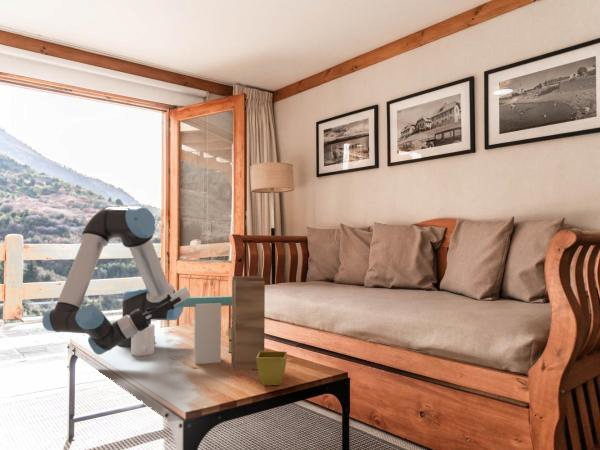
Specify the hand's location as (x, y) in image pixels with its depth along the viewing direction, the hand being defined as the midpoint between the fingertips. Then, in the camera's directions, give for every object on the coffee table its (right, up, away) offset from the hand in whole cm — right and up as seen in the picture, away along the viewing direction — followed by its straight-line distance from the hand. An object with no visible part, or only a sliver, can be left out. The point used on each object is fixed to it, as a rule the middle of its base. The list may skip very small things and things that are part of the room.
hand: (188, 291), depth 171 cm
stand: (+22, -25, -7) cm, 35 cm away
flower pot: (+32, -25, -27) cm, 49 cm away
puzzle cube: (+19, -26, +15) cm, 36 cm away
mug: (-20, -26, +10) cm, 34 cm away
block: (+7, -6, +2) cm, 9 cm away
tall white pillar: (+7, -26, +1) cm, 26 cm away
